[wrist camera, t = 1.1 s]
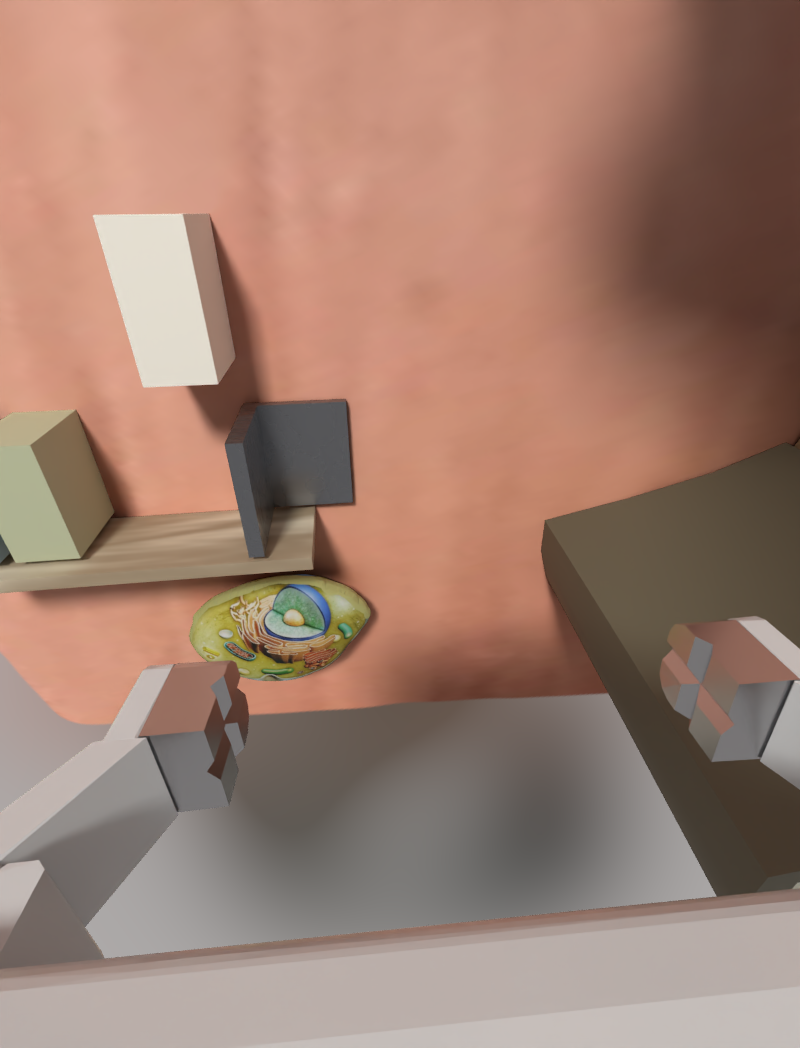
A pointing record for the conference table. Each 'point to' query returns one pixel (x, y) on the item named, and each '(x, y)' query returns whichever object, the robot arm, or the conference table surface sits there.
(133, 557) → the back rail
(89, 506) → the book olive
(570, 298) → the conference table surface
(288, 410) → the bookend
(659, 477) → the conference table surface
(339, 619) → the cell model
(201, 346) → the book ivory
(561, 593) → the book
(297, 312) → the conference table surface
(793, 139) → the conference table surface
